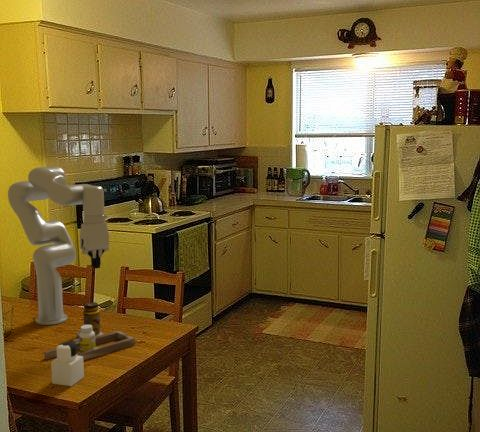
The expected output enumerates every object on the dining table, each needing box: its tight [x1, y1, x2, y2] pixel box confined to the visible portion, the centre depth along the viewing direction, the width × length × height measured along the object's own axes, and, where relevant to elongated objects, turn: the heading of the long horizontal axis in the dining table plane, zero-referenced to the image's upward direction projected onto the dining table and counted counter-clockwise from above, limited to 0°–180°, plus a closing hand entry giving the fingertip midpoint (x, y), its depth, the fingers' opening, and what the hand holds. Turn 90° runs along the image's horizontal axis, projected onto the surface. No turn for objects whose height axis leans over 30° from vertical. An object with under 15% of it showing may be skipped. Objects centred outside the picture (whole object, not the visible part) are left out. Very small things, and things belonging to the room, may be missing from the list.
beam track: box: [43, 330, 136, 362], centre depth 197 cm, size 14×30×3 cm, turn 134°
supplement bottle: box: [78, 324, 97, 353], centre depth 194 cm, size 5×5×10 cm
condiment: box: [76, 301, 104, 337], centre depth 212 cm, size 7×8×12 cm
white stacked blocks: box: [50, 341, 85, 387], centre depth 172 cm, size 7×7×12 cm
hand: (96, 267), depth 206 cm, fingers closed
